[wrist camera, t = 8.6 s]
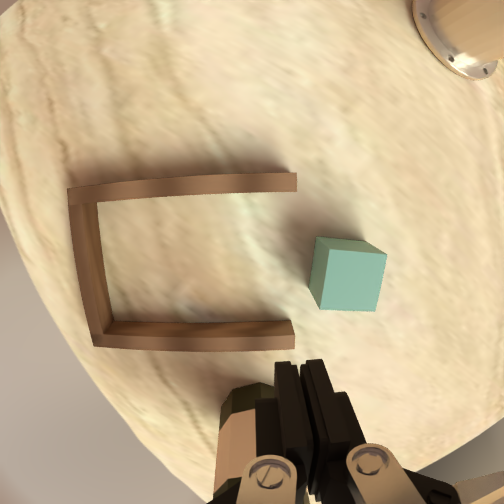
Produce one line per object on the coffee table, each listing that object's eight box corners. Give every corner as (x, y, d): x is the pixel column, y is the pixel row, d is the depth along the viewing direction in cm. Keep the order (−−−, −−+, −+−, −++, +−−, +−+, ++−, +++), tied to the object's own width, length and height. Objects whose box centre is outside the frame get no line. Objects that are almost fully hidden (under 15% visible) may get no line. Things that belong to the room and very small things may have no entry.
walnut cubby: (291, 172, 27) (296, 172, 24) (290, 333, 30) (294, 349, 27) (82, 186, 26) (67, 188, 23) (104, 332, 30) (93, 346, 27)
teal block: (365, 241, 28) (387, 254, 23) (356, 290, 29) (375, 311, 25) (315, 236, 28) (329, 249, 23) (308, 287, 29) (319, 309, 24)
